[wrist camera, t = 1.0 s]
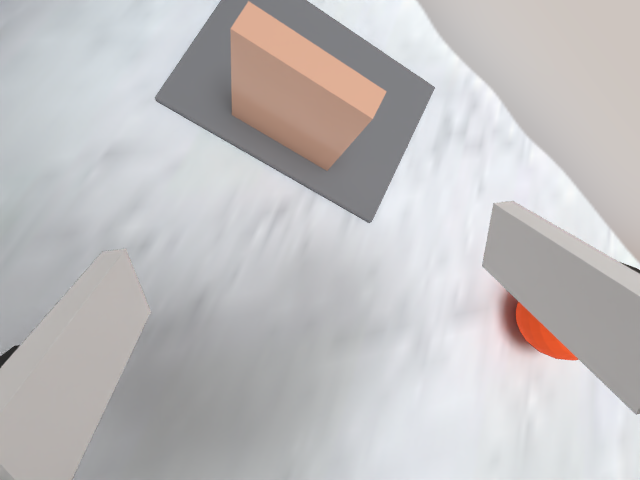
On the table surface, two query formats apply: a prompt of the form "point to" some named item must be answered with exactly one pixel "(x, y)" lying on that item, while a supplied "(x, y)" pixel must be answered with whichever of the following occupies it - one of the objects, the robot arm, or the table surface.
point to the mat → (216, 116)
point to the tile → (297, 89)
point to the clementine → (540, 335)
